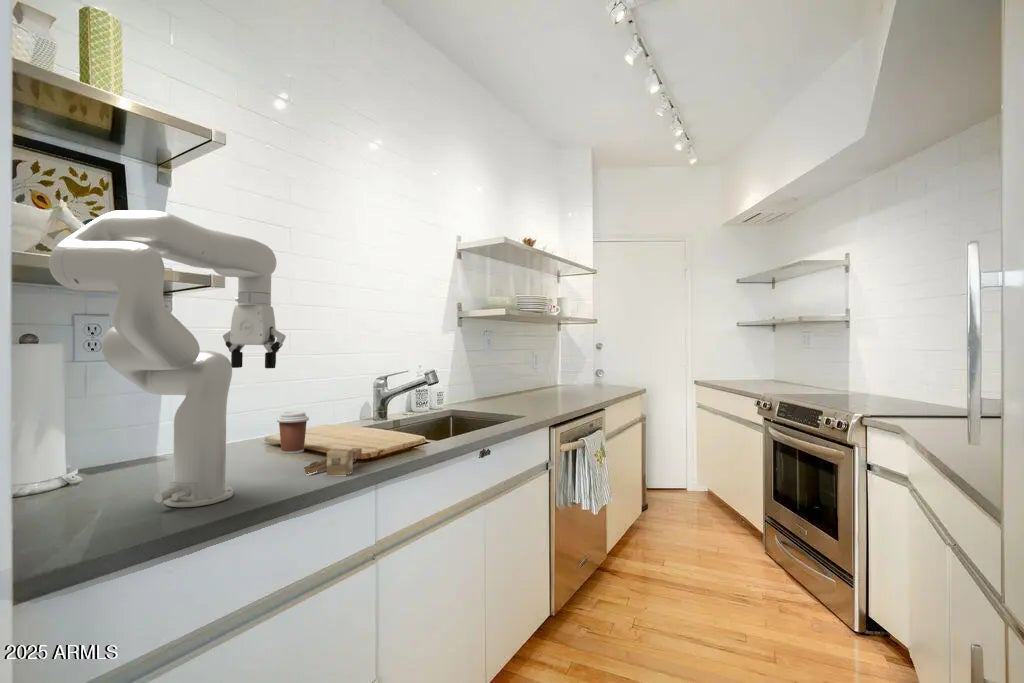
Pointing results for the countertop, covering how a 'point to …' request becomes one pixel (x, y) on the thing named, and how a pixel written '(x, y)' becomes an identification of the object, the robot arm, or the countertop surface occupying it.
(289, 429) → the coffee cup
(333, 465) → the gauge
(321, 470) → the wooden fragment
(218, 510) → the countertop surface
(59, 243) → the robot arm
